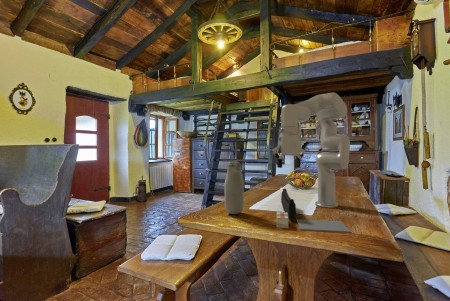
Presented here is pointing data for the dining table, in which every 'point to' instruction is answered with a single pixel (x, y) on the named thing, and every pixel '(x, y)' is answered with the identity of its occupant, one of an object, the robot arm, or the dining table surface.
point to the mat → (322, 226)
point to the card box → (282, 220)
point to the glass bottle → (234, 188)
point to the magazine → (288, 205)
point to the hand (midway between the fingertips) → (288, 167)
